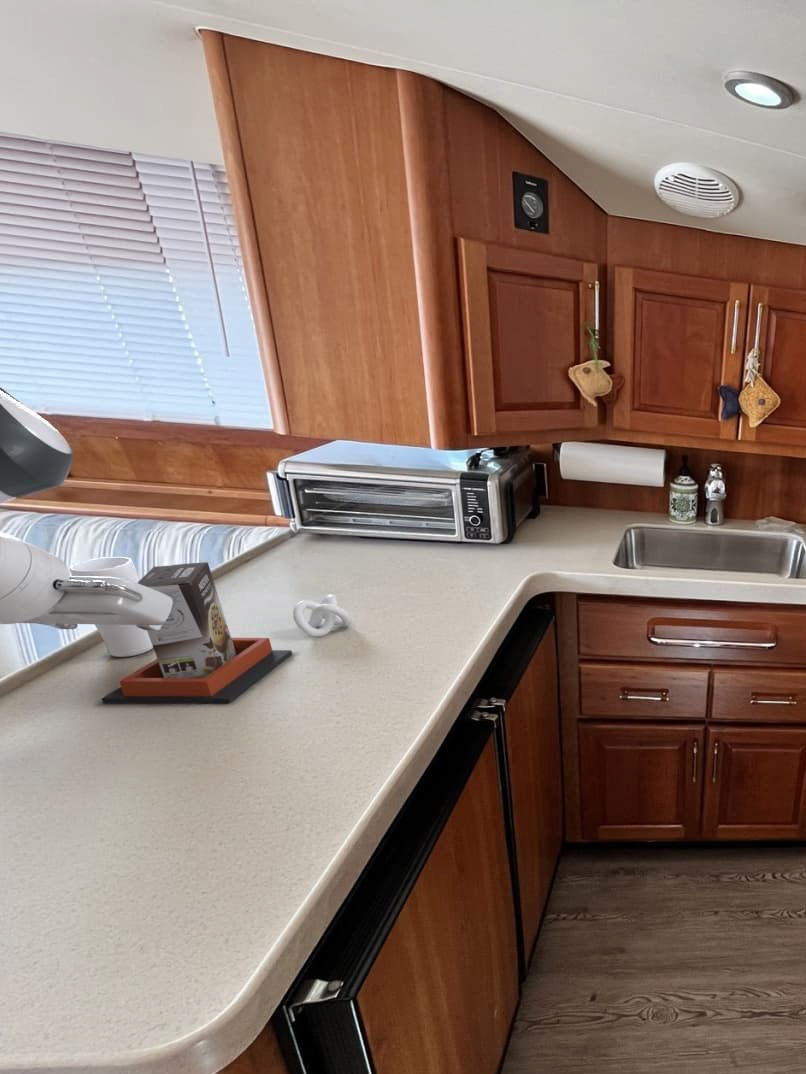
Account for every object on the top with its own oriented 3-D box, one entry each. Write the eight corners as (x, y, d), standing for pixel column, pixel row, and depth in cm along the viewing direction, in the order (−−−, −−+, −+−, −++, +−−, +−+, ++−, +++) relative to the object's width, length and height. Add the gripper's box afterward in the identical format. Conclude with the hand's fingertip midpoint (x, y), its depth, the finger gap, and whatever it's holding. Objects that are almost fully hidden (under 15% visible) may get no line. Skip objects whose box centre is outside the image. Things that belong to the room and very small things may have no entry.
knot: (364, 621, 118) (358, 592, 115) (338, 640, 110) (331, 610, 108) (321, 619, 117) (314, 590, 115) (292, 639, 110) (284, 608, 107)
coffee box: (223, 682, 95) (191, 582, 88) (166, 689, 92) (128, 587, 85) (238, 654, 102) (209, 560, 96) (186, 660, 99) (152, 564, 93)
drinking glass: (120, 664, 98) (85, 574, 92) (92, 655, 100) (57, 566, 94) (172, 646, 104) (143, 561, 98) (145, 638, 106) (115, 553, 100)
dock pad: (102, 703, 89) (94, 683, 88) (183, 653, 103) (177, 635, 101) (230, 703, 91) (223, 683, 90) (292, 654, 105) (288, 636, 104)
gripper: (126, 558, 72) (212, 603, 85) (-89, 552, 69) (33, 599, 81) (106, 610, 70) (197, 648, 82) (-119, 606, 66) (12, 646, 79)
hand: (114, 624), depth 82 cm, fingers open, 8 cm apart
